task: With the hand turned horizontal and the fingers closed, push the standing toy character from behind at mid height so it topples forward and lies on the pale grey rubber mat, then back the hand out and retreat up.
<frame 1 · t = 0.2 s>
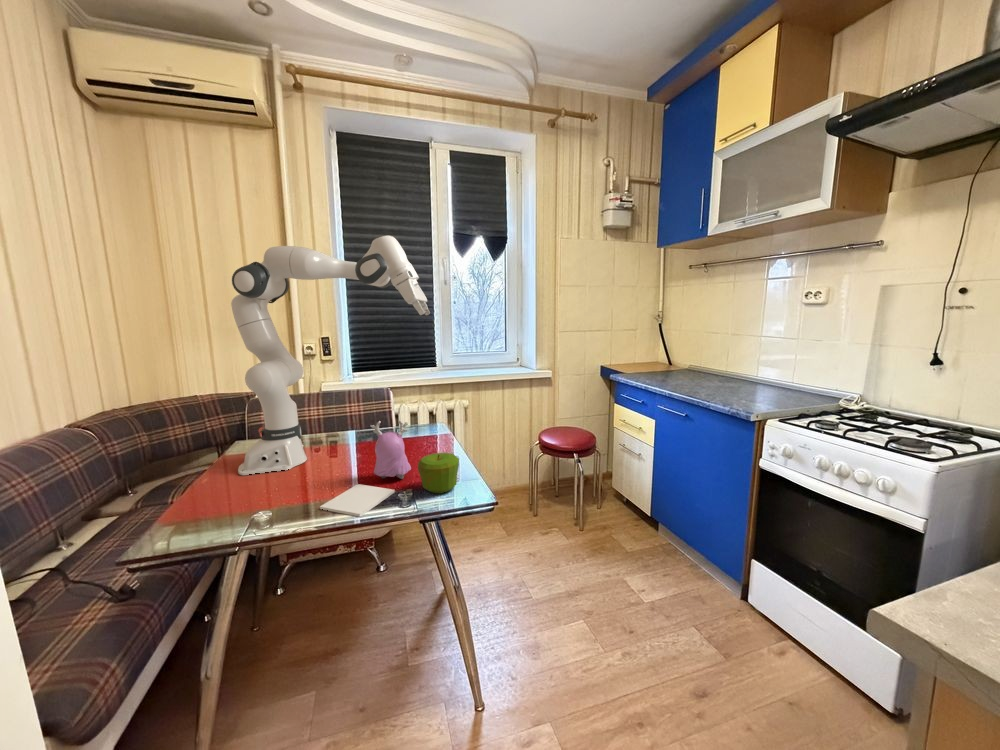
hand: (425, 314, 145), 54 cm above the table, tool tilted 25°, fingers open, 8 cm apart
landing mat: (359, 500, 123), on the table
toy character: (393, 478, 138), on the table
apple: (440, 489, 129), on the table
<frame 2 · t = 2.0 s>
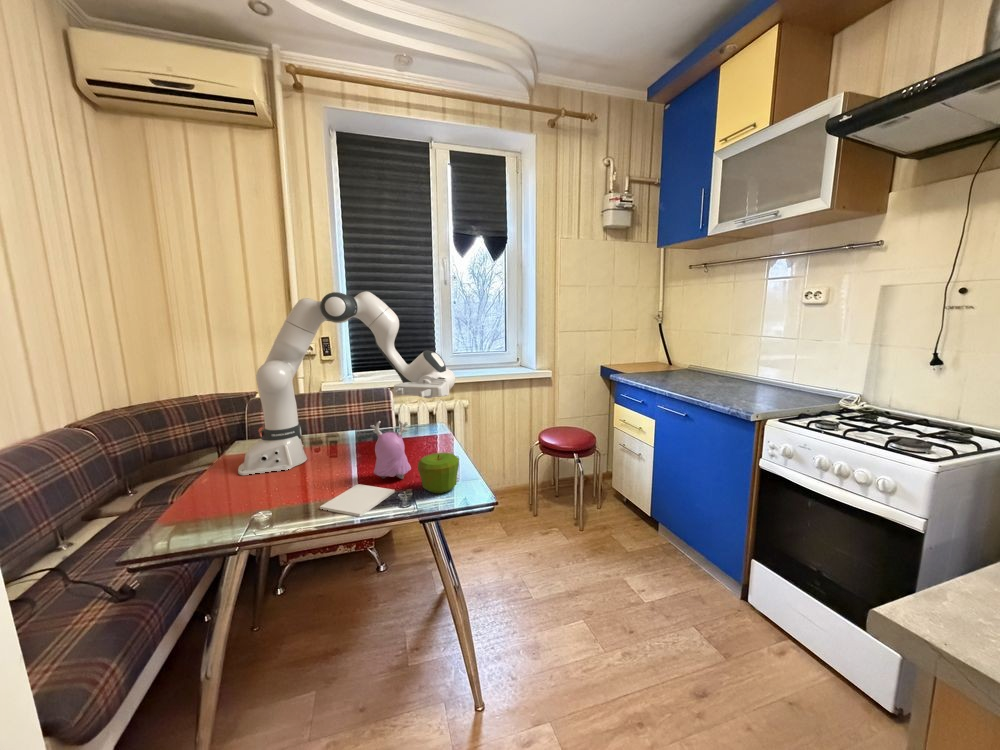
hand: (408, 393, 145), 26 cm above the table, tool horizontal, fingers open, 8 cm apart
nothing on the table moved.
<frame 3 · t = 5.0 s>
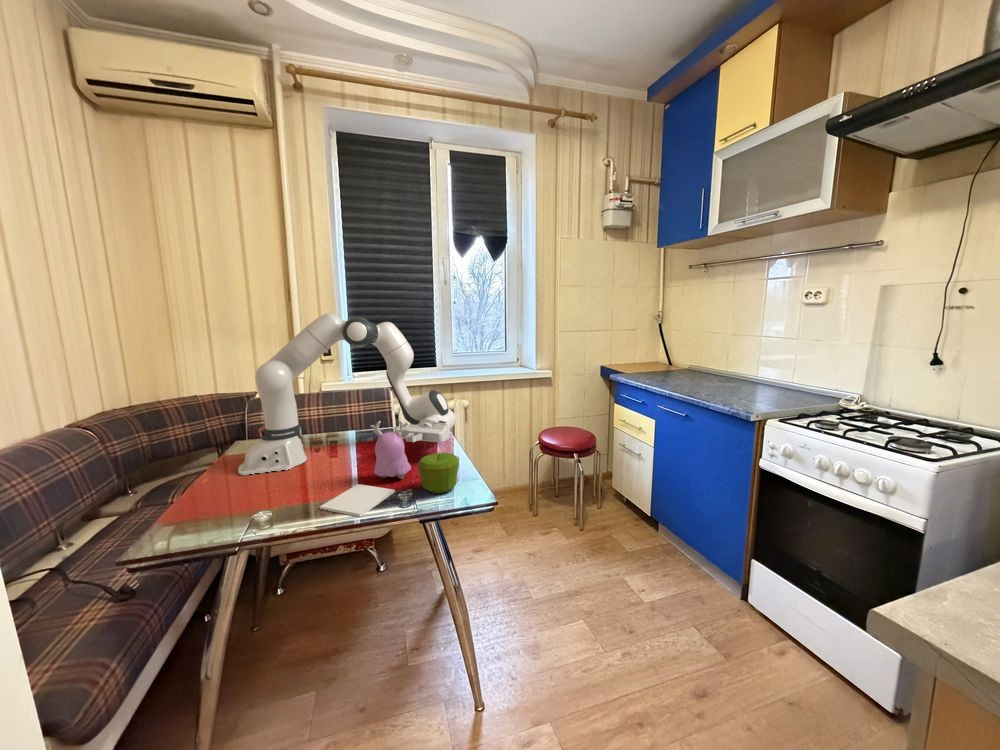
hand: (409, 439, 147), 10 cm above the table, tool horizontal, fingers closed
nothing on the table moved.
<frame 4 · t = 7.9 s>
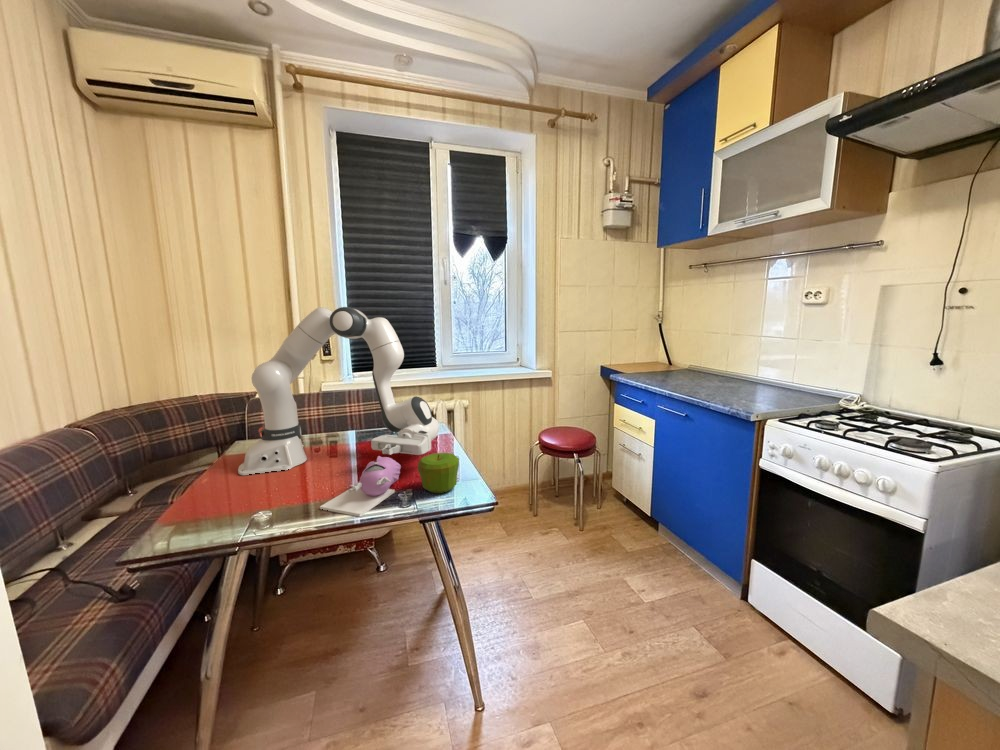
hand: (385, 452, 134), 10 cm above the table, tool horizontal, fingers closed
toy character: (385, 468, 136), point 4 cm above the table, touching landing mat
everything else where it was.
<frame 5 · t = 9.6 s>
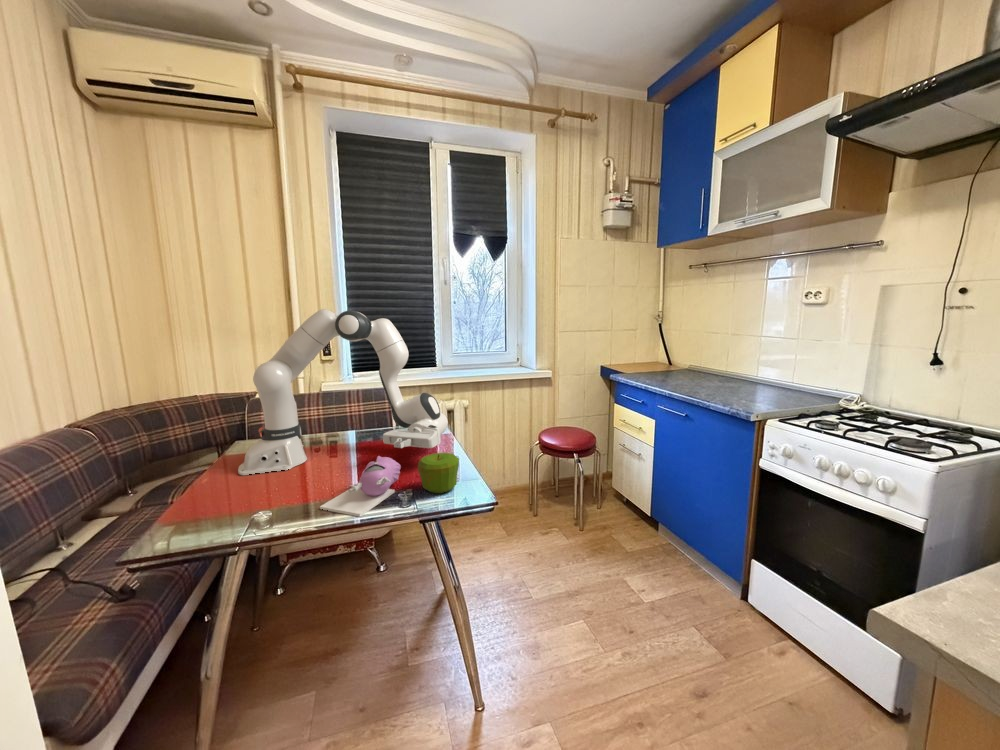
hand: (397, 445, 140), 10 cm above the table, tool horizontal, fingers closed
nothing on the table moved.
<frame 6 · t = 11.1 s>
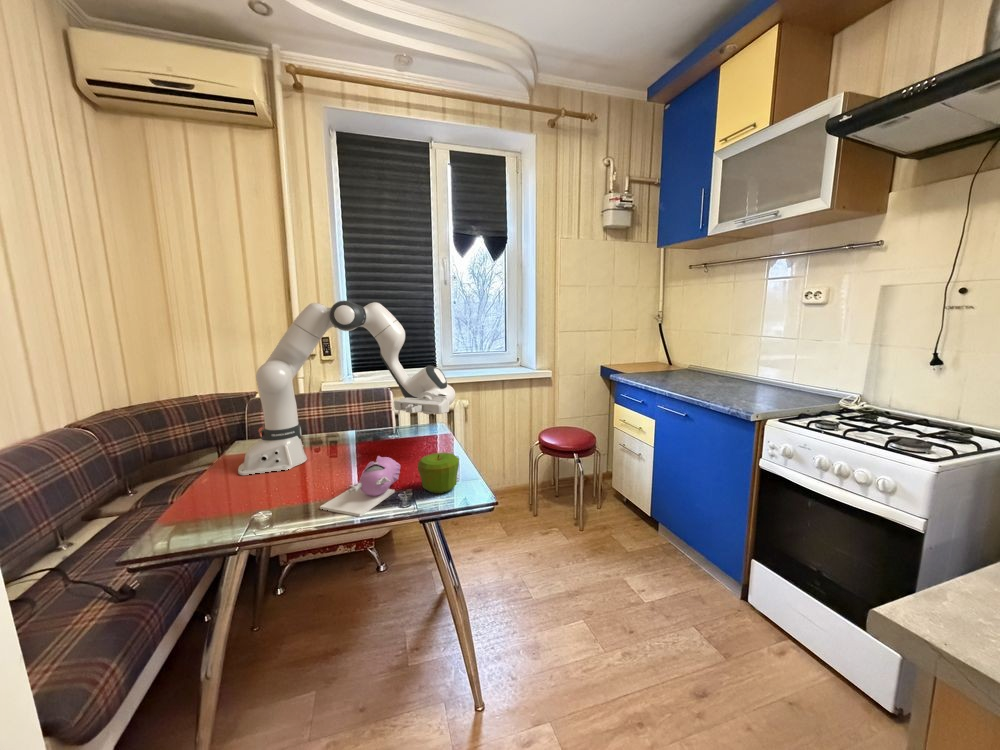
hand: (408, 410, 146), 20 cm above the table, tool horizontal, fingers closed
nothing on the table moved.
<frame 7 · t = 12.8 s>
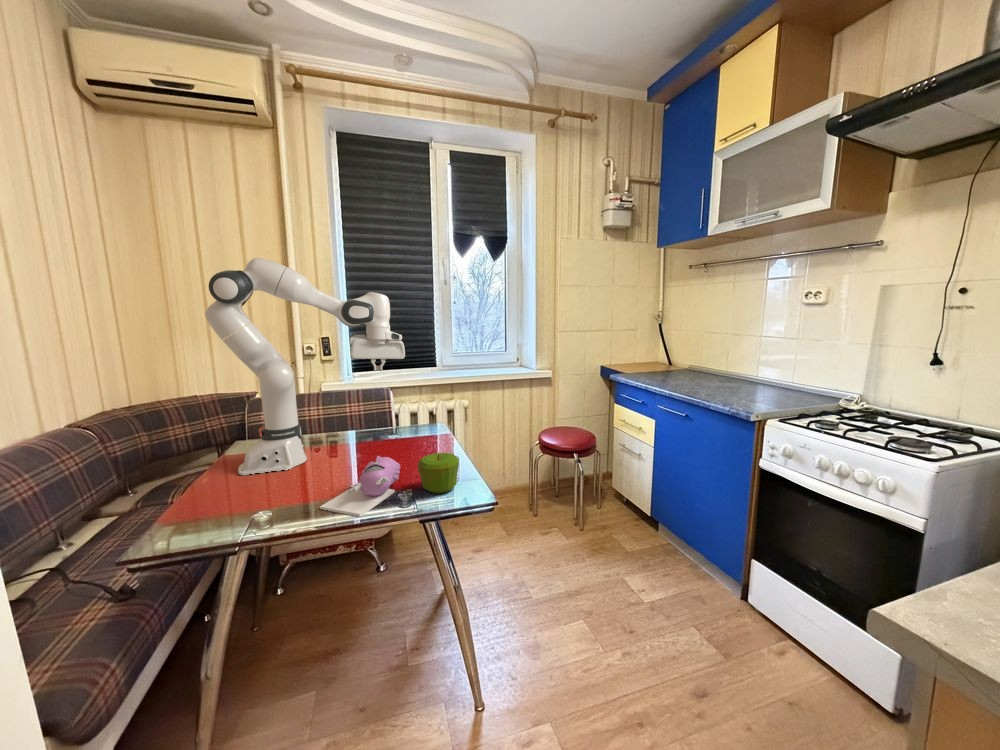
hand: (378, 370, 161), 32 cm above the table, tool pointing down, fingers closed
nothing on the table moved.
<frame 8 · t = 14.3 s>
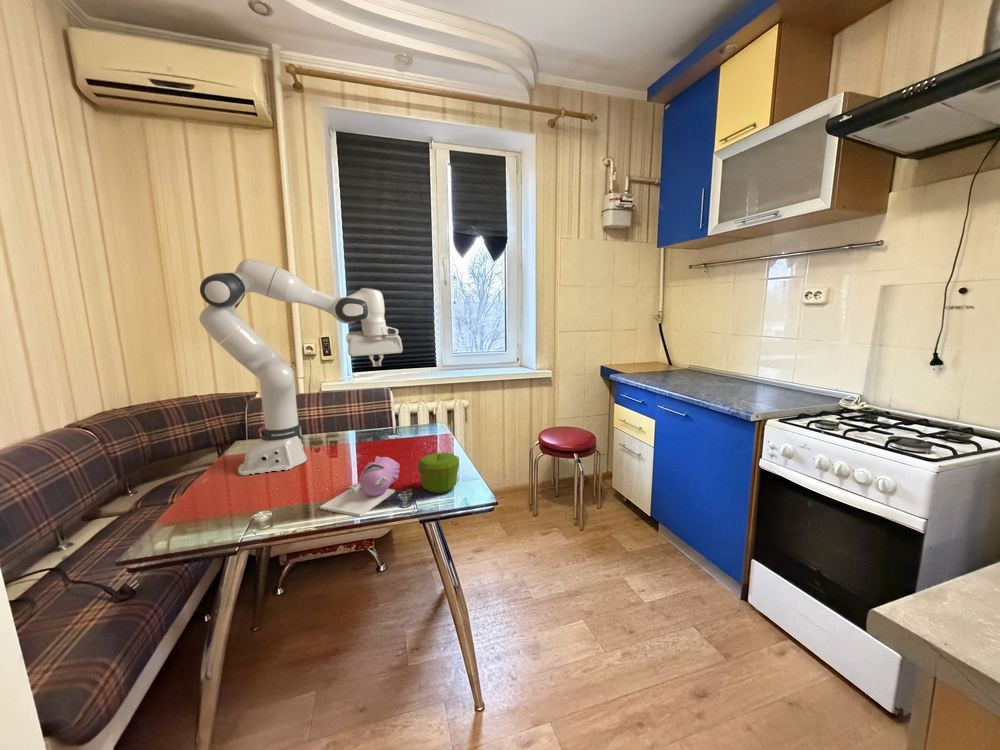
hand: (377, 366, 161), 34 cm above the table, tool pointing down, fingers closed
nothing on the table moved.
at the end: toy character tilted 83°; toy character inside the target area (8.2 cm from its centre), point 4.3 cm above the table; toy character touching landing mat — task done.
